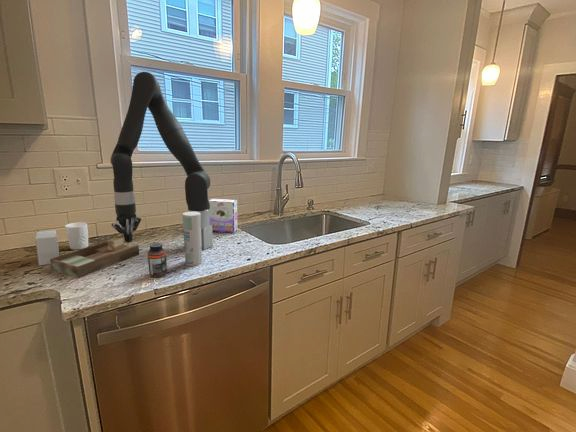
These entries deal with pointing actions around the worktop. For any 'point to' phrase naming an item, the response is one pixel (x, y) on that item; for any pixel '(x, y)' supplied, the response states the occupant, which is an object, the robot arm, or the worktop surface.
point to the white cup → (77, 235)
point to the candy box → (223, 215)
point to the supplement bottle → (157, 260)
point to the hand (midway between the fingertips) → (128, 241)
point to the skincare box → (46, 246)
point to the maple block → (115, 244)
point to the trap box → (91, 259)
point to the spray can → (192, 238)
